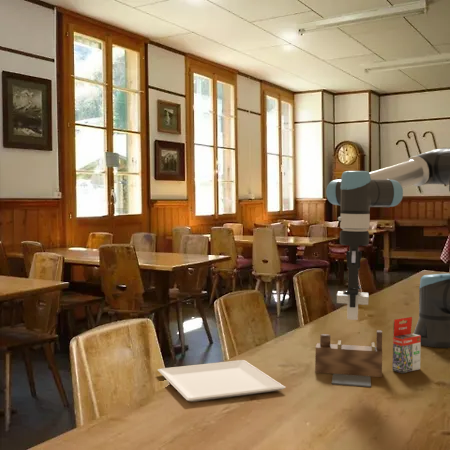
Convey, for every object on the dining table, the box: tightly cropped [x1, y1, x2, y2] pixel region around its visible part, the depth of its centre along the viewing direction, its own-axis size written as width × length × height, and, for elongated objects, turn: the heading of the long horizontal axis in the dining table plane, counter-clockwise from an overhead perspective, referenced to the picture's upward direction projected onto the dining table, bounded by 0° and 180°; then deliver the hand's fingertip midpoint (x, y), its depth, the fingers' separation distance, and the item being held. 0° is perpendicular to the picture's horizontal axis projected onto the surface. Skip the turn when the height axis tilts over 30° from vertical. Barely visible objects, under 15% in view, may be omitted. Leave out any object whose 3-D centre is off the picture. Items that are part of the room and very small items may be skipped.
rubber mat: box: [331, 373, 372, 388], centre depth 164 cm, size 10×8×1 cm
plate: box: [157, 359, 286, 402], centre depth 161 cm, size 26×26×2 cm
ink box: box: [391, 316, 422, 374], centre depth 174 cm, size 4×8×15 cm, turn 124°
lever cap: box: [336, 290, 369, 306], centre depth 163 cm, size 8×7×3 cm
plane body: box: [314, 329, 383, 378], centre depth 172 cm, size 18×5×12 cm, turn 77°
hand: (352, 316), depth 163 cm, fingers closed on lever cap, 7 cm apart
